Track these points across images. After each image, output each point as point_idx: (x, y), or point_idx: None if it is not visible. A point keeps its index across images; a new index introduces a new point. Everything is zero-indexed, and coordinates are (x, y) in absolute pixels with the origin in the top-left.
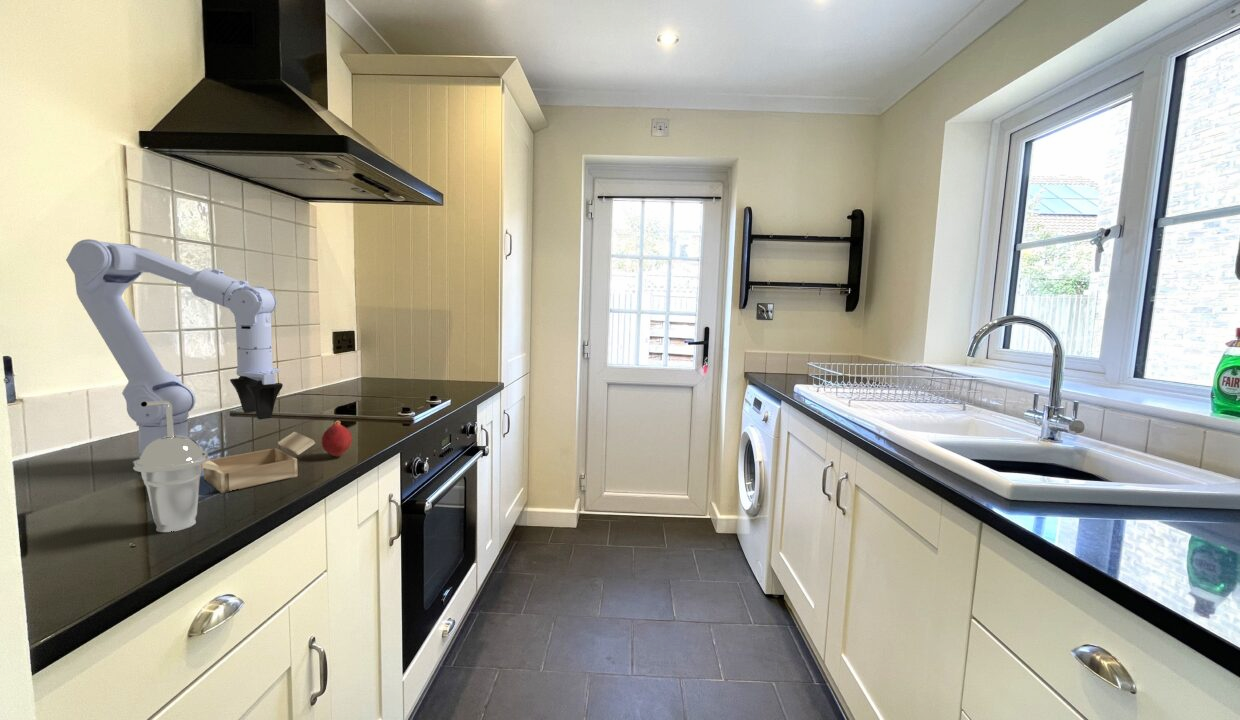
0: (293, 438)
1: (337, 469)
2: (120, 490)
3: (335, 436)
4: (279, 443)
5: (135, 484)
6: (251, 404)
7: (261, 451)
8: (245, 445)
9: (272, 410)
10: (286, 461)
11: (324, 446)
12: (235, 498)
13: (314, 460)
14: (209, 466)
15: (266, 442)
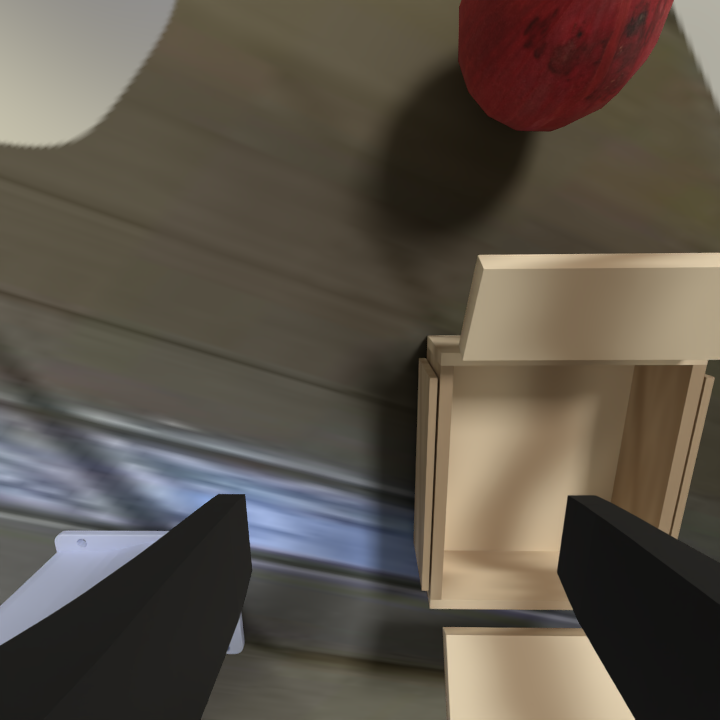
0: (565, 308)
1: (698, 171)
2: (357, 698)
3: (654, 38)
4: (490, 359)
5: (326, 670)
6: (220, 585)
7: (448, 421)
8: (20, 329)
9: (659, 533)
10: (706, 400)
11: (554, 129)
12: (684, 540)
13: (482, 191)
14: None
15: (10, 241)
